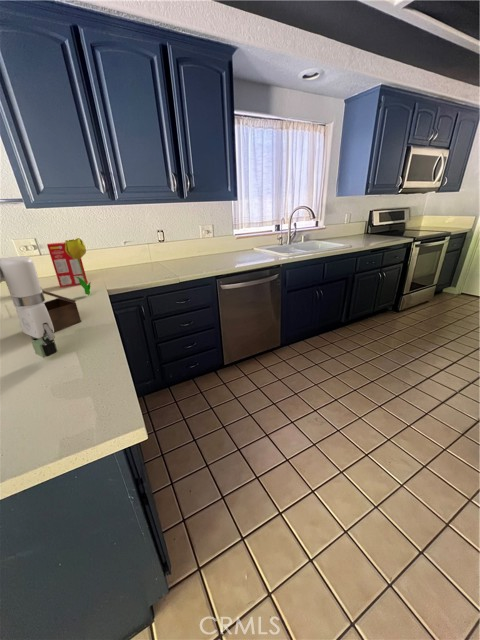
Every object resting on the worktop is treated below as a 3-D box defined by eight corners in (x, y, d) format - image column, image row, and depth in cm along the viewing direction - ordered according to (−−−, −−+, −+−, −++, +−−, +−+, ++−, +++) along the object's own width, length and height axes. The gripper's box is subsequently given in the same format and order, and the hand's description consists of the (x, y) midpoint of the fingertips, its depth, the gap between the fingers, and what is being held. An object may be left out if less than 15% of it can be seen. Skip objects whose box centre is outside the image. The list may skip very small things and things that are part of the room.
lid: (32, 289, 95) (33, 287, 95) (15, 284, 101) (15, 283, 101) (75, 302, 110) (75, 300, 110) (57, 297, 115) (58, 296, 115)
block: (43, 357, 83) (39, 345, 82) (35, 354, 85) (31, 341, 83) (58, 351, 87) (54, 339, 85) (50, 347, 89) (46, 336, 87)
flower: (90, 292, 150) (76, 237, 137) (100, 294, 146) (86, 238, 134) (76, 296, 143) (59, 239, 131) (85, 299, 140) (69, 240, 127)
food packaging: (87, 281, 170) (76, 241, 160) (87, 283, 166) (77, 242, 156) (60, 285, 163) (47, 243, 152) (60, 287, 159) (47, 244, 148)
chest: (42, 337, 101) (34, 316, 97) (25, 330, 107) (17, 310, 103) (81, 321, 114) (75, 302, 110) (64, 316, 119) (58, 297, 115)
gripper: (0, 298, 79) (20, 350, 87) (29, 308, 72) (49, 364, 79) (28, 291, 85) (44, 341, 93) (58, 300, 78) (73, 353, 85)
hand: (46, 351), depth 86 cm, fingers closed on block, 4 cm apart
